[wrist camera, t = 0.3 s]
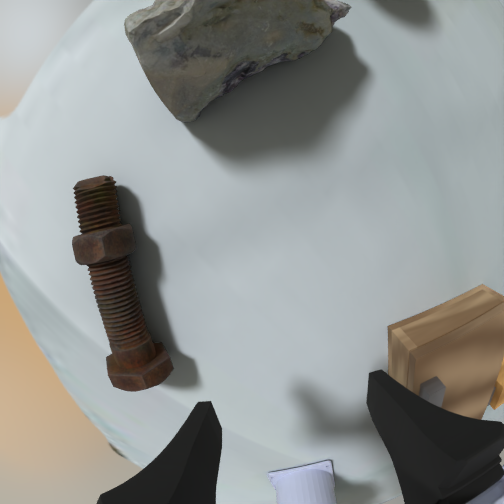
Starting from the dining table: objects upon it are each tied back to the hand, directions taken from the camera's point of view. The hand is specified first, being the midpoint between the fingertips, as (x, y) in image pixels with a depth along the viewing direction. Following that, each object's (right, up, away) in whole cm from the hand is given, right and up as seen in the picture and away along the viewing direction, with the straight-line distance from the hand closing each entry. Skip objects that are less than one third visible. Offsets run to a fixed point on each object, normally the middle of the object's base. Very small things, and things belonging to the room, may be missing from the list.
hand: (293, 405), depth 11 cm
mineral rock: (-2, +21, +6) cm, 21 cm away
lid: (+18, -7, +10) cm, 22 cm away
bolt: (-11, +5, +9) cm, 16 cm away
